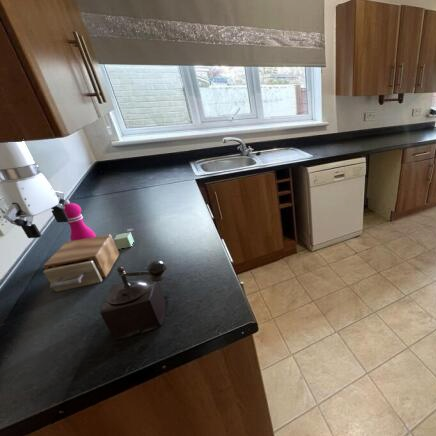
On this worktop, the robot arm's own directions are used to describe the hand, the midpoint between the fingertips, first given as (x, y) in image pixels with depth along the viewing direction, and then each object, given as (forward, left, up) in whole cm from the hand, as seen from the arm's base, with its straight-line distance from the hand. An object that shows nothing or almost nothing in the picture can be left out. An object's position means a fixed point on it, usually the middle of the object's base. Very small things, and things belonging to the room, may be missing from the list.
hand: (50, 229), depth 79 cm
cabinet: (+3, +2, -18) cm, 19 cm away
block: (+9, +18, -18) cm, 27 cm away
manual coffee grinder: (+26, -29, -18) cm, 43 cm away
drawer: (+3, -3, -17) cm, 18 cm away
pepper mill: (-5, +23, -18) cm, 30 cm away
